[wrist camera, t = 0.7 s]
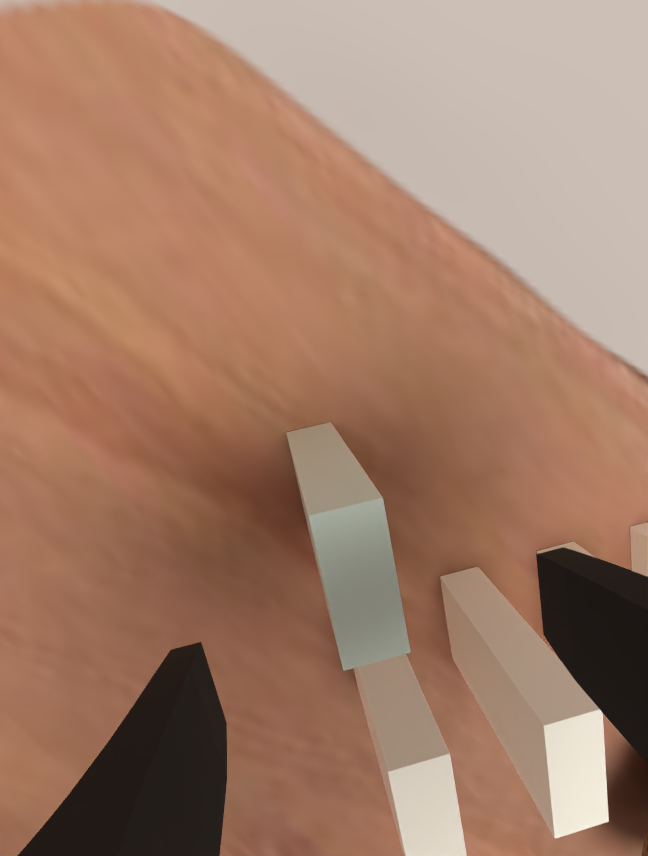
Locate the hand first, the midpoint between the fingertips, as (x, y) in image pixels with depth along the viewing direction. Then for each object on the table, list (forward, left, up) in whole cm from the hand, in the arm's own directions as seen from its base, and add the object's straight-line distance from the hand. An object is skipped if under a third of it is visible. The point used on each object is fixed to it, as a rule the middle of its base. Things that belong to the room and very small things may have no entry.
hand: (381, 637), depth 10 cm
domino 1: (0, 0, -10) cm, 10 cm away
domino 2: (+1, -8, -10) cm, 13 cm away
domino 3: (+5, -8, -10) cm, 14 cm away
